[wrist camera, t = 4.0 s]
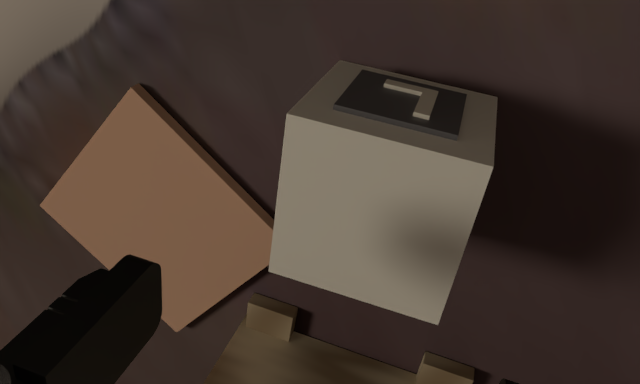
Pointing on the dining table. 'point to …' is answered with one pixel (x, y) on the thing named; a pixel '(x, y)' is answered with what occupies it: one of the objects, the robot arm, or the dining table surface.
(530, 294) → the dining table surface
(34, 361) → the robot arm
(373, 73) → the cube
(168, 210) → the coaster
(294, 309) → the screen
